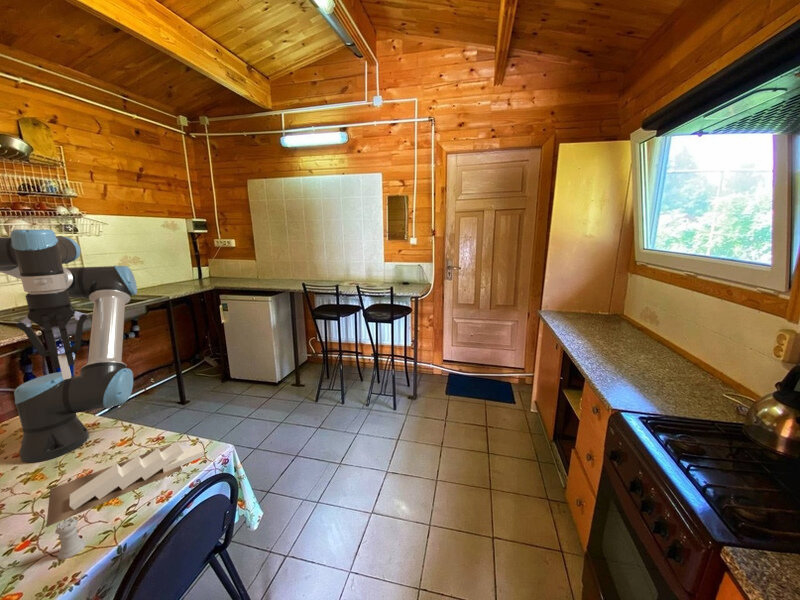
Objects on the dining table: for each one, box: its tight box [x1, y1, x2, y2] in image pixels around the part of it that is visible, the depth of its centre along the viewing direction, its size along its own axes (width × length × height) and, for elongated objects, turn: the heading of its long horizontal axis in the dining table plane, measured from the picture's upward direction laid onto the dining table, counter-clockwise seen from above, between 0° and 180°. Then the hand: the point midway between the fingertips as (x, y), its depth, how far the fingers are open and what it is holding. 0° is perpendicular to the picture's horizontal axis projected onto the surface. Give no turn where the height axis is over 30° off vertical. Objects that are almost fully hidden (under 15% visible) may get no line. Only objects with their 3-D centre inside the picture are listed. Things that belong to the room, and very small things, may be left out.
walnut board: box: [46, 443, 183, 528], centre depth 88 cm, size 26×16×2 cm, turn 134°
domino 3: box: [119, 448, 164, 490], centre depth 88 cm, size 2×5×10 cm
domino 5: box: [162, 443, 205, 473], centre depth 95 cm, size 2×5×10 cm
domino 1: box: [70, 463, 122, 510], centre depth 82 cm, size 2×5×10 cm
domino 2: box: [95, 455, 144, 500], centre depth 85 cm, size 2×5×10 cm
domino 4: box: [142, 440, 184, 480], centre depth 91 cm, size 2×5×10 cm
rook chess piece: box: [54, 517, 87, 560], centre depth 67 cm, size 4×4×8 cm
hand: (67, 377), depth 88 cm, fingers closed
